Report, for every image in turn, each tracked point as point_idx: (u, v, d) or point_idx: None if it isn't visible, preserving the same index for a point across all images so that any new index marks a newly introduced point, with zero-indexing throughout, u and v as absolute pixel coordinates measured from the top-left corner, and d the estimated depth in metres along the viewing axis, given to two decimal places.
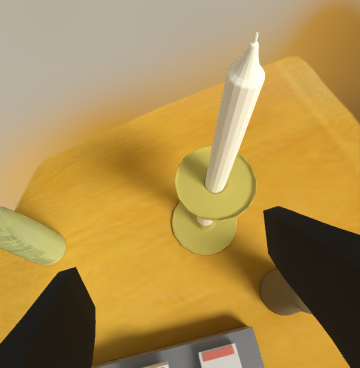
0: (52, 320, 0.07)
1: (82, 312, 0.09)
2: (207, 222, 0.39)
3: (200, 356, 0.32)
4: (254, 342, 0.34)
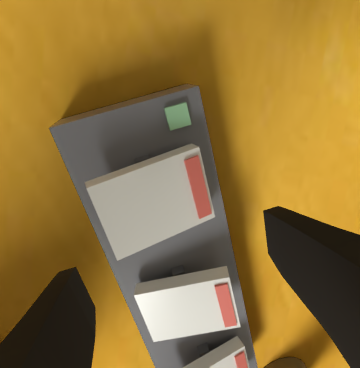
0: (52, 320, 0.07)
1: (82, 312, 0.09)
2: None
3: (240, 349, 0.21)
4: None
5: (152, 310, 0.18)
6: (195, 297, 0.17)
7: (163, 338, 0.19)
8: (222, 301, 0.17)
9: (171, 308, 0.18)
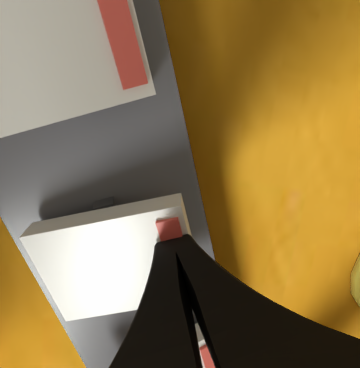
0: (179, 280, 0.08)
1: (184, 280, 0.10)
2: None
3: None
4: None
5: (55, 265, 0.11)
6: (125, 243, 0.10)
7: (80, 316, 0.12)
8: None
9: (87, 263, 0.11)
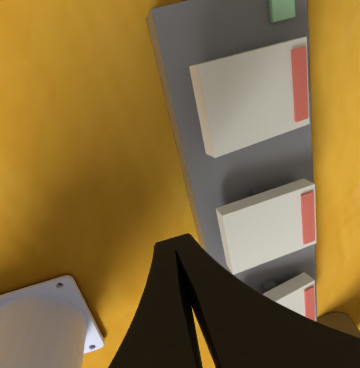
0: (179, 280, 0.08)
1: (183, 280, 0.10)
2: None
3: (309, 283, 0.20)
4: None
5: (238, 233, 0.17)
6: (281, 212, 0.17)
7: (243, 269, 0.18)
8: (306, 213, 0.17)
9: (256, 228, 0.17)
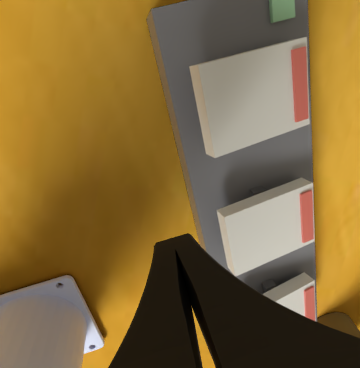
0: (179, 280, 0.08)
1: (184, 280, 0.10)
2: None
3: (309, 284, 0.20)
4: None
5: (239, 234, 0.16)
6: (281, 211, 0.17)
7: (245, 270, 0.18)
8: (305, 211, 0.17)
9: (258, 229, 0.17)
